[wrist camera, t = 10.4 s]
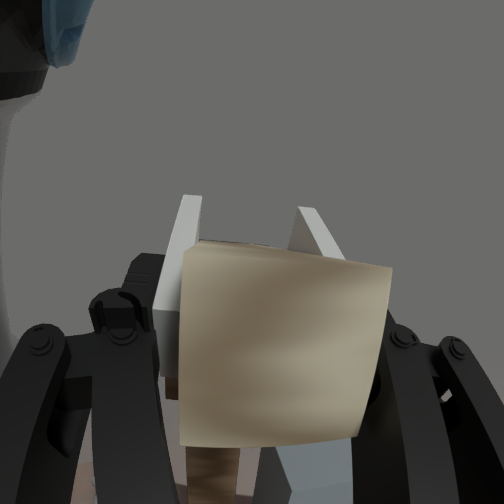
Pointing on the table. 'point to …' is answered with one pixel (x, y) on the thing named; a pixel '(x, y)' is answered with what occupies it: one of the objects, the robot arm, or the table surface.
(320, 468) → the grey block
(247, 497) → the table surface
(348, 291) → the pale wooden bar
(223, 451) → the walnut stand
